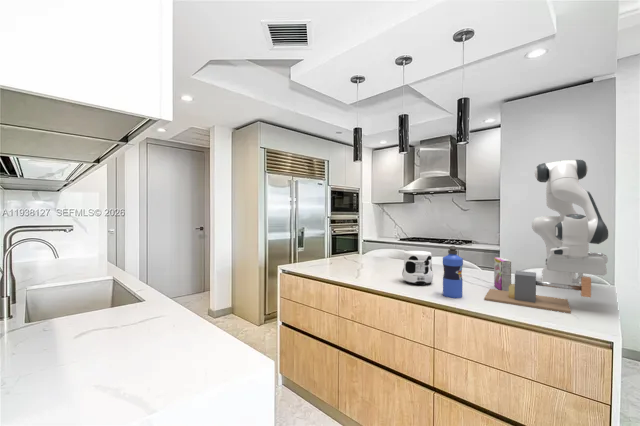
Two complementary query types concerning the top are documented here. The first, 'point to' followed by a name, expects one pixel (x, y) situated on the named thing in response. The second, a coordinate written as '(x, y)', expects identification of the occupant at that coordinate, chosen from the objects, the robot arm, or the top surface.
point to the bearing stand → (528, 295)
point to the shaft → (572, 286)
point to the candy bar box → (502, 273)
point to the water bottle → (452, 274)
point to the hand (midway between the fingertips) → (574, 282)
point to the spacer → (512, 291)
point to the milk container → (417, 267)
